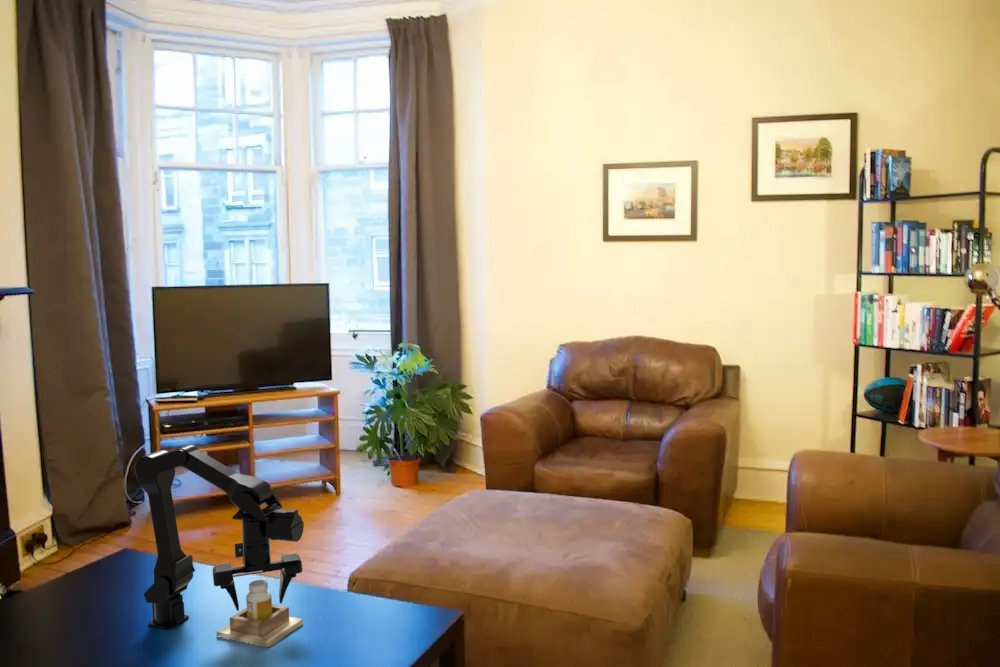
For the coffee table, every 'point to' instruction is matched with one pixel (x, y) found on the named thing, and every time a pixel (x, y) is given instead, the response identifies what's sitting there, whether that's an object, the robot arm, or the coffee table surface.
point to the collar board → (261, 627)
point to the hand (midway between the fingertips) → (259, 606)
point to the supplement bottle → (259, 600)
